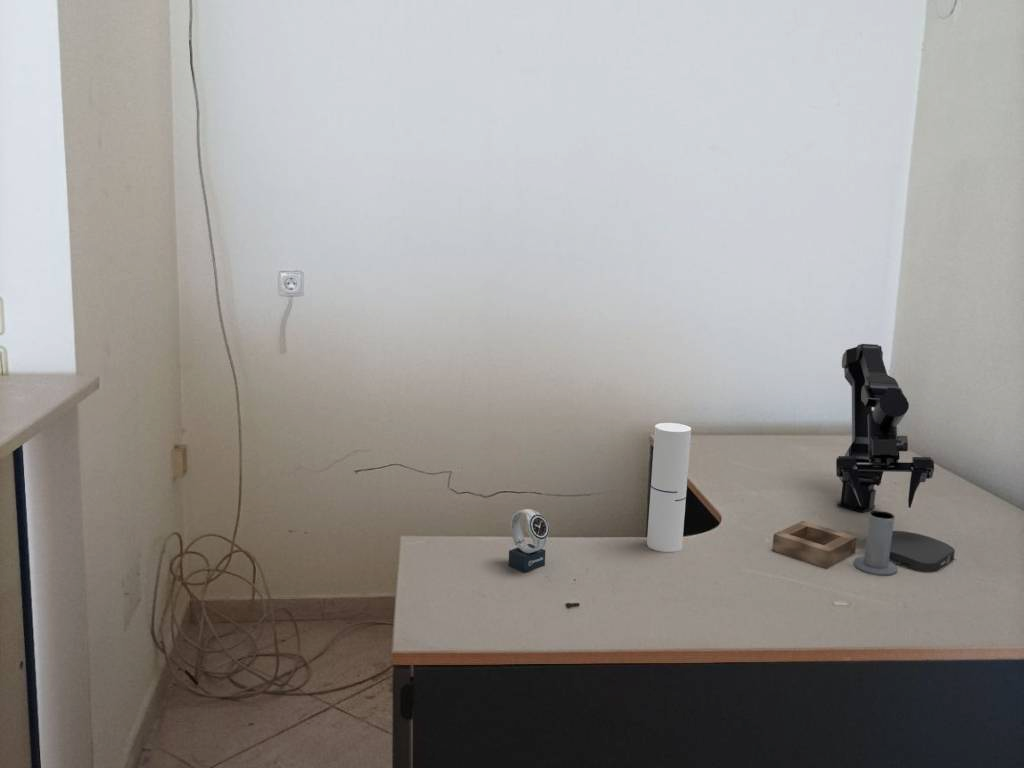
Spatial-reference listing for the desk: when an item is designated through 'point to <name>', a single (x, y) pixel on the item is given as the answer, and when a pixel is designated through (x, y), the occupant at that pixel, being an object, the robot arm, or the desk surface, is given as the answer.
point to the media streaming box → (919, 552)
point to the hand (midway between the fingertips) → (885, 506)
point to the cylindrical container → (668, 486)
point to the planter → (879, 539)
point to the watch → (528, 554)
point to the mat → (875, 571)
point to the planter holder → (814, 544)
